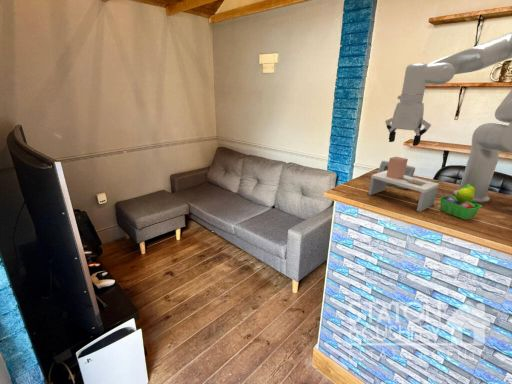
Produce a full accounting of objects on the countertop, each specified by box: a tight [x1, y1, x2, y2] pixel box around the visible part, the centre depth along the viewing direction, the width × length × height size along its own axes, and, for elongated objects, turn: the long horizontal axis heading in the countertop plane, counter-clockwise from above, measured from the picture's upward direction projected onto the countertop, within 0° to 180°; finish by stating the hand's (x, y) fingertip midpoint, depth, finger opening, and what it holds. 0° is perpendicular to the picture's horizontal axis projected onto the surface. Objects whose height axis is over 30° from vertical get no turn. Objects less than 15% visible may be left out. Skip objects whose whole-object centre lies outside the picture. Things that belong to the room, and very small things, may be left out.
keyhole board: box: [368, 170, 440, 213], centre depth 114 cm, size 12×22×9 cm, turn 36°
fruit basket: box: [439, 184, 483, 220], centre depth 101 cm, size 11×9×11 cm
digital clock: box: [377, 160, 416, 190], centre depth 131 cm, size 16×9×11 cm, turn 30°
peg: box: [386, 156, 409, 187], centre depth 115 cm, size 5×5×11 cm
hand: (403, 143), depth 110 cm, fingers open, 9 cm apart
